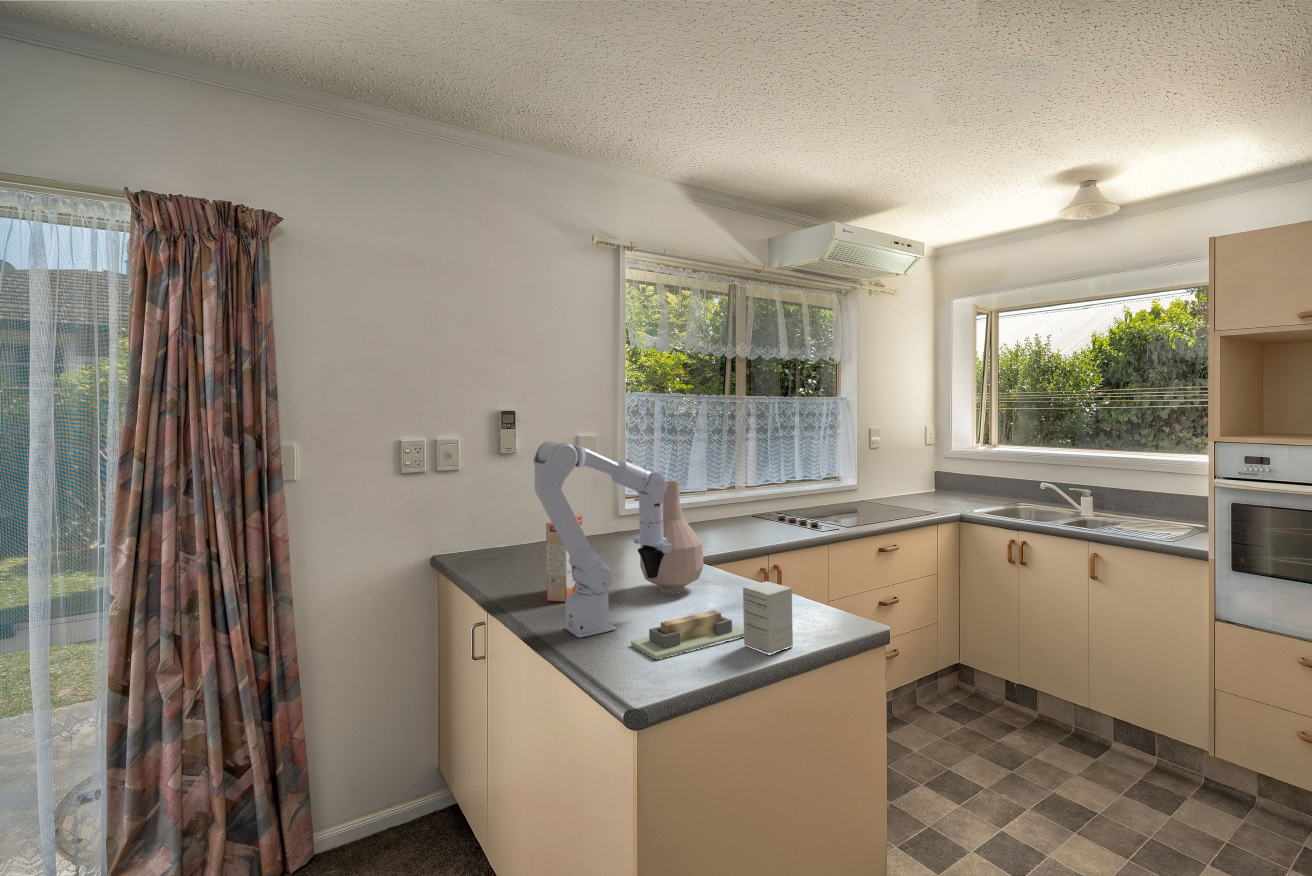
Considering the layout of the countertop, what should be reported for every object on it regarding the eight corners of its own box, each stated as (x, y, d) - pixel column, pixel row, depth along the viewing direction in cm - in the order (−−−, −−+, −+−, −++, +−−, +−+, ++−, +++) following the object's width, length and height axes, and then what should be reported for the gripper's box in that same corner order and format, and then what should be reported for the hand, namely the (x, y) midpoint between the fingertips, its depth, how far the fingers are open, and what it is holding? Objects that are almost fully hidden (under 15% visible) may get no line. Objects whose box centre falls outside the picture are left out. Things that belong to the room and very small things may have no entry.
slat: (667, 644, 131) (667, 625, 131) (661, 641, 133) (660, 622, 133) (721, 631, 138) (721, 613, 138) (714, 628, 140) (714, 610, 140)
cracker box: (568, 602, 165) (566, 523, 164) (546, 602, 166) (544, 522, 165) (584, 588, 179) (583, 514, 178) (564, 587, 180) (562, 514, 179)
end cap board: (656, 660, 125) (655, 643, 125) (631, 645, 134) (630, 629, 134) (749, 636, 138) (749, 620, 138) (721, 623, 146) (721, 608, 146)
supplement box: (767, 638, 136) (766, 580, 136) (793, 648, 131) (793, 587, 130) (742, 646, 132) (741, 586, 132) (769, 656, 126) (768, 594, 126)
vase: (649, 602, 164) (647, 487, 163) (633, 584, 181) (631, 480, 180) (713, 595, 169) (711, 483, 168) (691, 579, 186) (690, 477, 185)
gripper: (682, 523, 148) (683, 581, 148) (649, 515, 160) (650, 568, 161) (656, 527, 144) (657, 585, 145) (625, 518, 157) (626, 573, 157)
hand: (652, 577), depth 153 cm, fingers closed
